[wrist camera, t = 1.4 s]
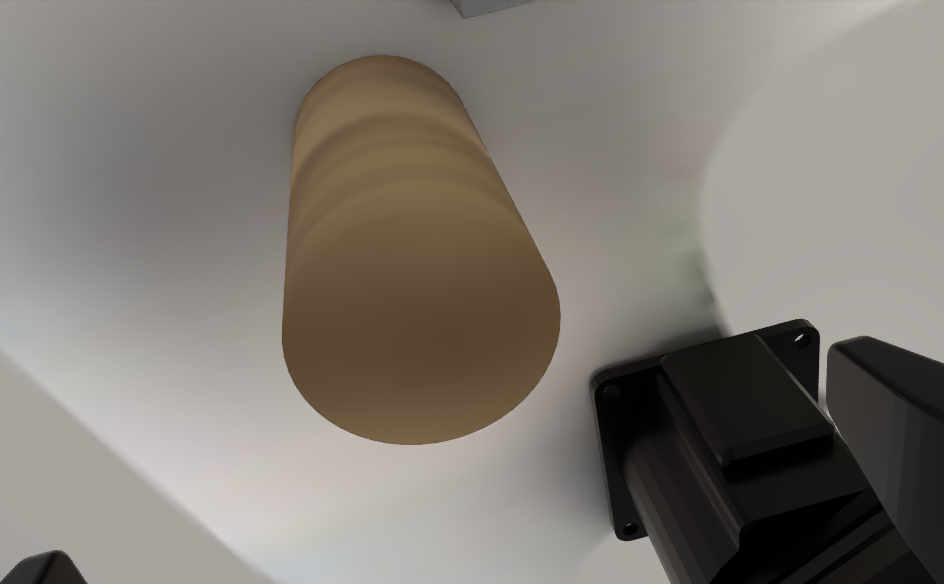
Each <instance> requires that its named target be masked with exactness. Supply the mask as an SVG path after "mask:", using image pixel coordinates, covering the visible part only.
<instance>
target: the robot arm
mask: <svg viewBox="0 0 944 584" xmlns="http://www.w3.org/2000/svg"><path fill="white" fill-rule="evenodd" d="M802 334H803V336H802V338H800V339H799V340H797V341H795V339H796V338H797V337H798V336H800V335H802ZM819 347H820V335H819V332H818V331H817V330H816V329H815V327H814V326H813V325H812V324H810V322H809V321H808V320H805V319H795V320H791V321H788V322H784V323H780V324H777V325H773V326H769V327H765V328H762V329H758V330H754V331H750V332H747V333H743V334H739V335H735V336H732V337H728V338H724V339H720V340H717V341H713V342H709V343H705V344H702V345H698V346H694V347H690V348H687V349H683V350H679V351H675V352H672V353H668V354H664V355H660V356H657V357H653V358H649V359H645V360H642V361H638V362H634V363H630V364H627V365H623V366H619V367H615V368H612V369H608V370H605V371H602V372H600V373H598V374H597V375H596V376H595V377H594V378H593V380H592V381H591V384H590V392H591V398H592V404H593V411H594V417H595V423H596V430H597V436H598V442H599V449H600V455H601V462H602V468H603V474H604V481H605V487H606V493H607V500H608V506H609V513H610V519H611V525H612V527H613V529H614V532H615V534H616V536H617V538H618V539H620V540H623V541H632V540H636V539H639V538H643V537H647V536H649V538H650V540H651V542H652V544H653V546H654V548H655V550H656V553H657V555H658V557H659V559H660V561H661V563H662V566H663V568H664V570H665V572H666V574H667V576H668V579H669V581H670V583H671V584H944V363H941V362H939V361H936V360H933V359H930V358H927V357H925V356H922V355H919V354H917V353H914V352H911V351H908V350H906V349H903V348H900V347H897V346H894V345H891V344H889V343H886V342H883V341H880V340H878V339H875V338H872V337H869V336H858V337H855V338H851V339H847V340H843V341H840V342H836V343H834V344H833V345H831V347H830V348H829V350H828V355H827V381H826V402H827V407H828V410H829V413H830V415H831V418H832V420H833V421H834V423H835V425H836V426H837V428H838V430H839V431H840V433H841V434H840V433H839V432H838V431H837V429H836V428H835V425H834V423H833V421H832V420H831V419H830V418H829V417H828V416H827V414H826V413H825V412H824V411H823V410H822V409H821V407H820V406H819V405H818V383H819V380H818V379H819V350H820V348H819ZM611 385H616V386H615V387H614V388H613V389H612V390H610V391H606V392H603V391H604V390H605V389H606V388H607V387H609V386H611ZM629 524H630V525H629ZM626 525H628V526H626ZM0 584H88V583H87V582H86V581H85V579H84V578H83V576H82V575H81V573H80V572H79V570H78V569H77V567H76V566H75V564H74V563H73V561H72V560H71V558H70V557H69V556H68V555H67V554H66V553H65V552H63V551H61V550H53V551H49V552H45V553H42V554H38V555H34V556H30V557H28V558H25V559H23V560H22V561H20V562H19V563H18V564H17V565H16V566H15V567H14V568H13V569H12V570H11V571H10V572H9V573H8V574H7V576H6V577H5V578H4V579H3V580H2V581H1V582H0Z"/></svg>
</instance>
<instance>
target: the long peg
mask: <svg viewBox="0 0 944 584" xmlns="http://www.w3.org/2000/svg"><path fill="white" fill-rule="evenodd" d="M560 317H561V315H560V304H559V298H558V294H557V290H556V286H555V284H554V282H553V279H552V277H551V274H550V272H549V270H548V268H547V266H546V264H545V262H544V260H543V259H542V257H541V255H540V253H539V251H538V249H537V247H536V245H535V243H534V241H533V239H532V237H531V235H530V233H529V231H528V229H527V228H526V226H525V224H524V222H523V220H522V218H521V216H520V214H519V212H518V210H517V208H516V206H515V204H514V202H513V200H512V198H511V197H510V195H509V193H508V191H507V189H506V187H505V185H504V183H503V181H502V179H501V177H500V175H499V173H498V171H497V169H496V168H495V166H494V164H493V162H492V160H491V158H490V156H489V154H488V152H487V150H486V148H485V146H484V144H483V142H482V140H481V138H480V137H479V135H478V133H477V131H476V129H475V127H474V125H473V123H472V121H471V119H470V117H469V115H468V113H467V111H466V109H465V107H464V106H463V104H462V102H461V100H460V98H459V97H458V95H457V94H456V92H455V91H454V90H453V88H452V87H451V86H450V85H449V84H448V83H447V82H446V81H445V80H444V79H443V78H442V77H441V76H440V75H438V74H437V73H436V72H434V71H433V70H431V69H430V68H428V67H426V66H424V65H422V64H420V63H418V62H415V61H412V60H410V59H406V58H401V57H397V56H385V55H383V56H370V57H364V58H359V59H356V60H353V61H350V62H347V63H345V64H343V65H341V66H339V67H337V68H335V69H334V70H332V71H331V72H329V73H328V74H326V75H325V76H324V77H323V78H322V79H321V80H320V81H318V82H317V84H316V85H315V86H314V87H313V88H312V89H311V90H310V92H309V93H308V95H307V96H306V98H305V100H304V101H303V103H302V106H301V108H300V110H299V112H298V116H297V119H296V122H295V128H294V136H293V152H292V169H291V186H290V203H289V220H288V237H287V254H286V270H285V287H284V304H283V321H282V346H283V353H284V358H285V362H286V365H287V368H288V371H289V374H290V376H291V378H292V380H293V382H294V384H295V386H296V387H297V389H298V390H299V392H300V393H301V394H302V396H303V397H304V399H305V400H306V401H307V402H308V403H309V404H310V405H311V406H312V407H313V408H314V409H315V410H316V411H317V412H318V413H319V414H321V415H322V416H323V417H324V418H326V419H327V420H328V421H330V422H332V423H333V424H335V425H336V426H338V427H340V428H341V429H344V430H346V431H348V432H350V433H352V434H355V435H357V436H360V437H364V438H367V439H370V440H374V441H379V442H384V443H390V444H401V445H422V444H430V443H438V442H443V441H448V440H452V439H456V438H459V437H462V436H465V435H468V434H471V433H473V432H476V431H478V430H480V429H482V428H485V427H486V426H488V425H490V424H492V423H494V422H495V421H497V420H499V419H500V418H502V417H503V416H505V415H506V414H507V413H509V412H510V411H511V410H513V409H514V408H515V407H516V406H517V405H518V404H520V403H521V402H522V401H523V400H524V399H525V398H526V397H527V396H528V395H529V393H530V392H531V391H532V390H533V389H534V388H535V387H536V385H537V384H538V382H539V381H540V379H541V378H542V377H543V375H544V373H545V372H546V370H547V368H548V366H549V364H550V362H551V360H552V357H553V354H554V352H555V349H556V346H557V341H558V337H559V332H560Z"/></svg>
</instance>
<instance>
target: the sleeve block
mask: <svg viewBox="0 0 944 584" xmlns="http://www.w3.org/2000/svg"><path fill="white" fill-rule="evenodd" d="M450 1H451V3H452V4H453V5H454V7H455V8H456V9H457V11H458V12H459V13H460V15H461V16H462V18H463V19H465V18H469V17H473V16H478V15H482V14H486V13H490V12H494V11H498V10H502V9H506V8H510V7H514V6H518V5H522V4H526V3H530V2H534V1H538V0H450Z"/></svg>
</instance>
